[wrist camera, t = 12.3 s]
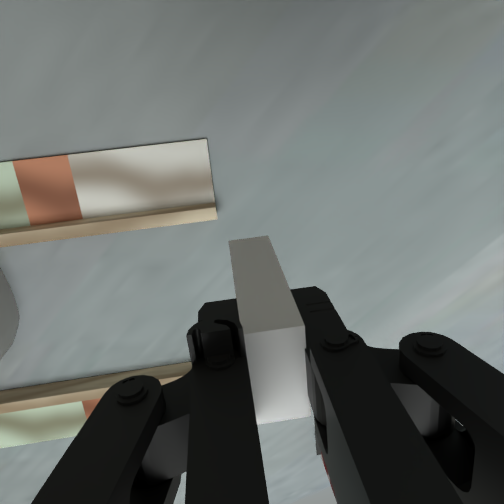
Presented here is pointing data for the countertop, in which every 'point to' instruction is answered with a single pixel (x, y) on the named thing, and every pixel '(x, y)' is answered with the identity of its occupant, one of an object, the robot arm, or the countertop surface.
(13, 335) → the lumpy-topped squat cylinder
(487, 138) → the countertop surface
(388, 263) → the countertop surface
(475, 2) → the countertop surface
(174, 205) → the track
